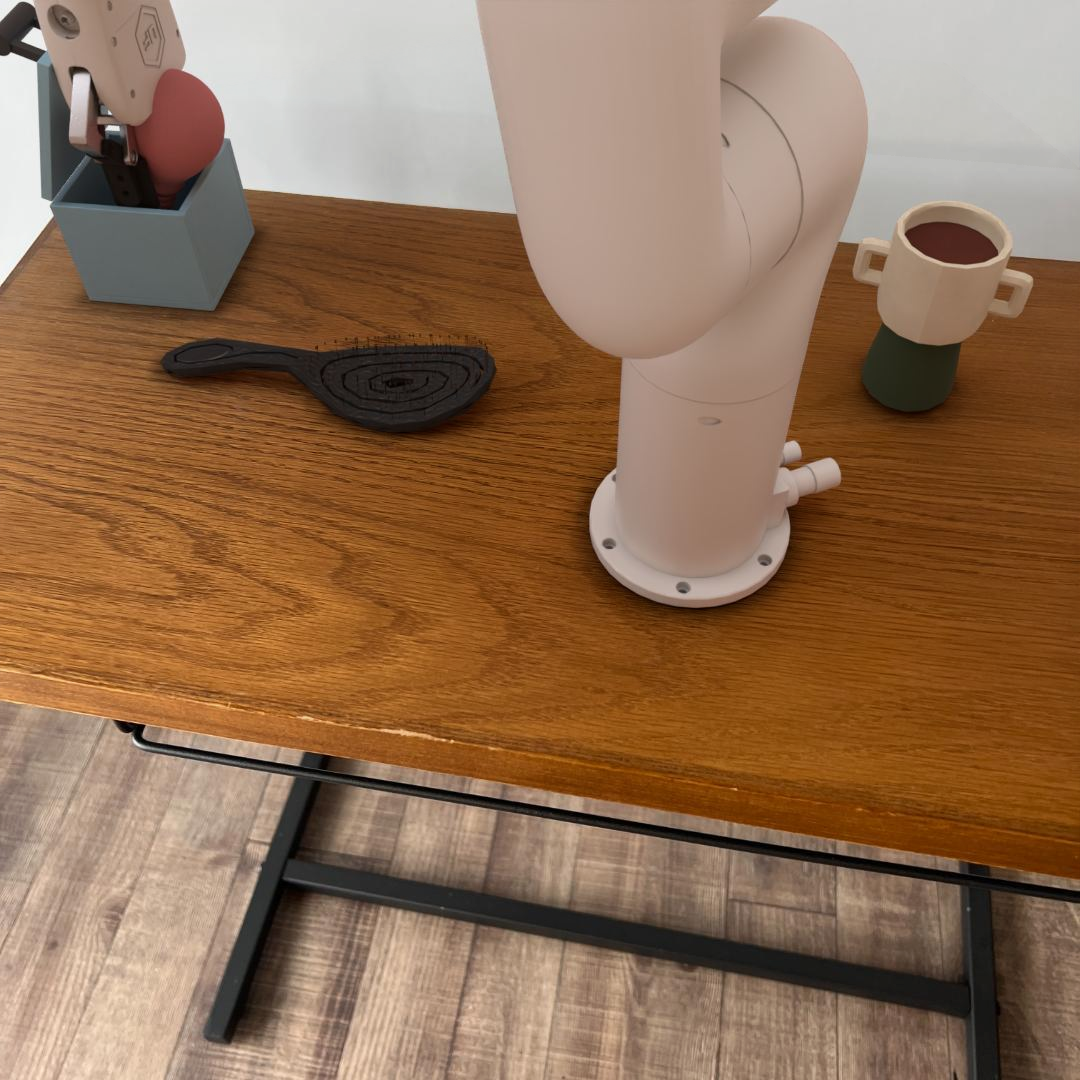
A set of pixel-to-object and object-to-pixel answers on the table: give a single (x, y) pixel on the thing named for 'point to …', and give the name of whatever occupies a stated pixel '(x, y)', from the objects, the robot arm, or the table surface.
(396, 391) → the hairbrush
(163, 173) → the light bulb
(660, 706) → the table surface
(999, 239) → the cream handled cup
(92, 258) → the box
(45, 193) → the lid
